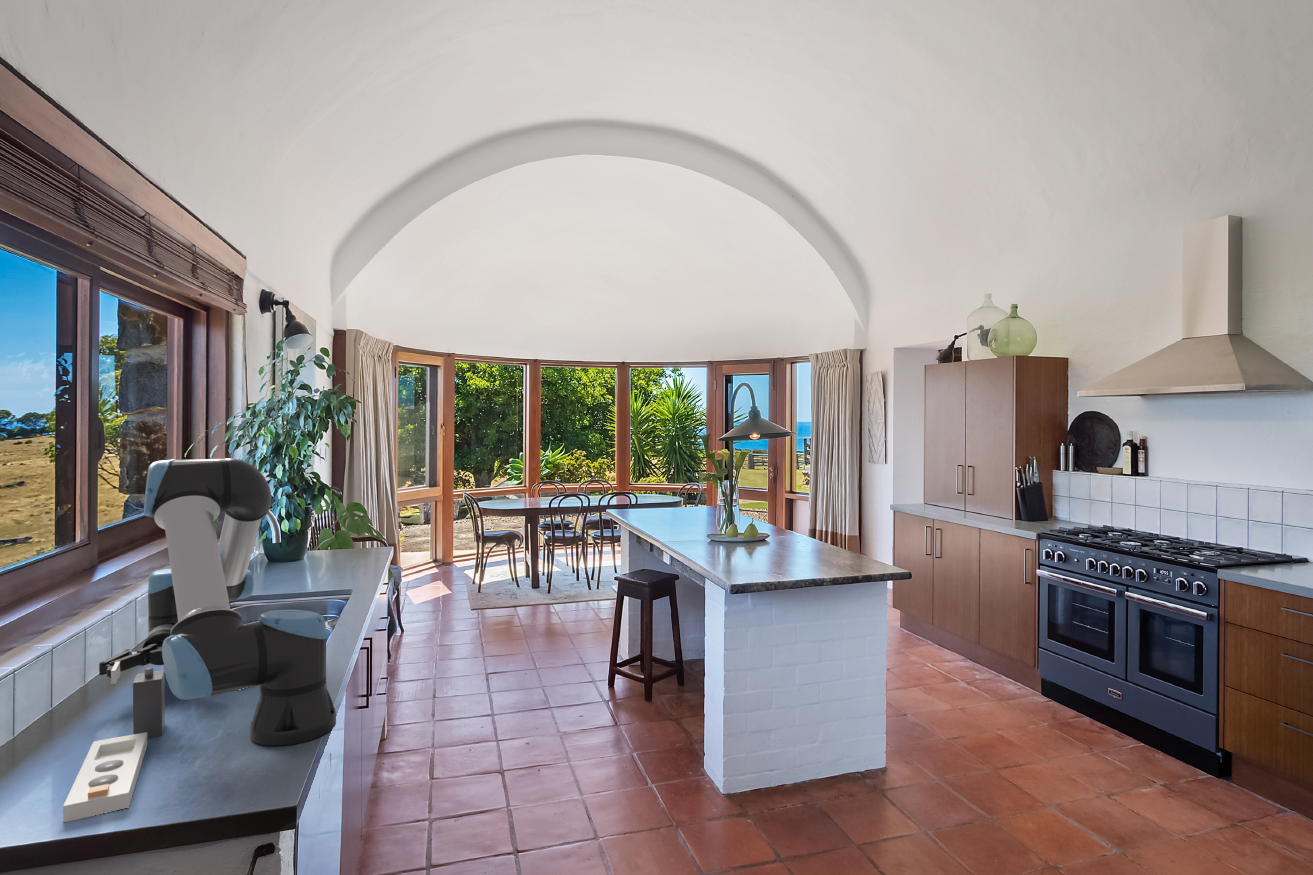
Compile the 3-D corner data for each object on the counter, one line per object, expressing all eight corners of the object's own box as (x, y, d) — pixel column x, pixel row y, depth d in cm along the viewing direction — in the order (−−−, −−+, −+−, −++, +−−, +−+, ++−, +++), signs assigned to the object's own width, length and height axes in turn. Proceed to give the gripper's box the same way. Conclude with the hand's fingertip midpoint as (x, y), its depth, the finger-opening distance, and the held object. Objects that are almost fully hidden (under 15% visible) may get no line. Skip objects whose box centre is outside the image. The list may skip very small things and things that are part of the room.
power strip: (93, 754, 131) (93, 736, 131) (147, 745, 135) (147, 727, 135) (63, 822, 109) (63, 800, 109) (128, 808, 113) (128, 787, 113)
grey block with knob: (137, 729, 143) (136, 666, 143) (164, 724, 145) (164, 662, 145) (133, 740, 137) (132, 675, 137) (162, 735, 140) (161, 671, 140)
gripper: (226, 652, 174) (224, 679, 156) (96, 669, 161) (77, 700, 143) (225, 621, 174) (224, 644, 155) (95, 636, 161) (77, 663, 143)
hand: (154, 671), depth 149 cm, fingers open, 13 cm apart
